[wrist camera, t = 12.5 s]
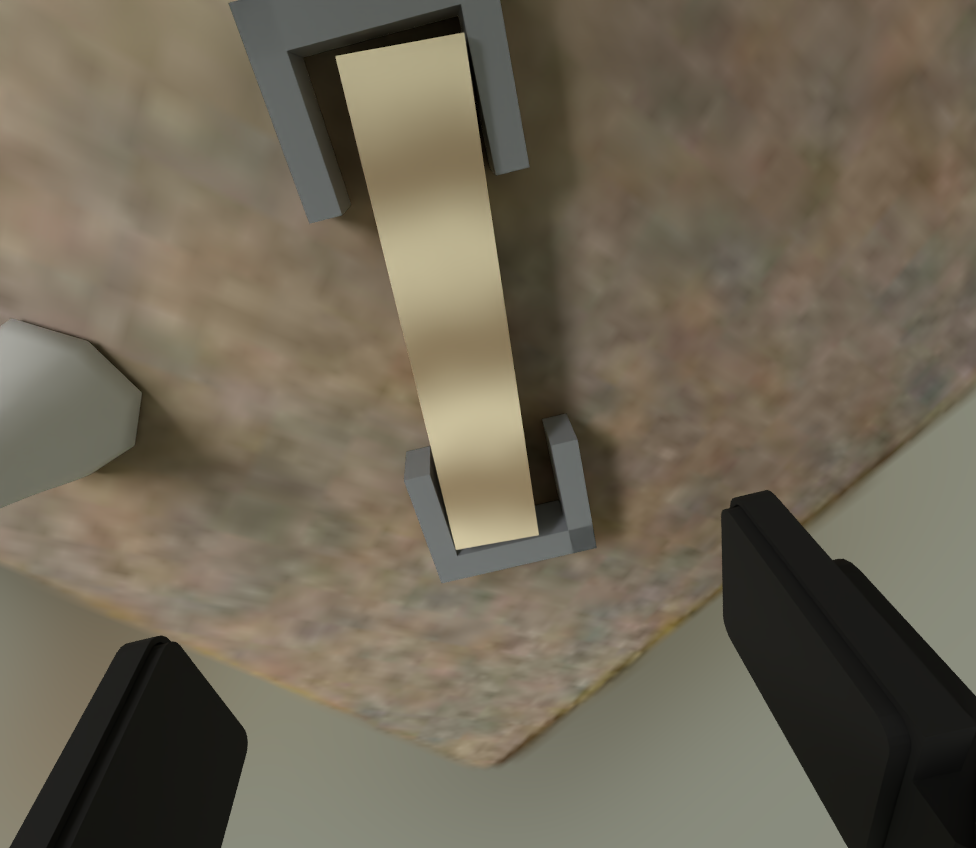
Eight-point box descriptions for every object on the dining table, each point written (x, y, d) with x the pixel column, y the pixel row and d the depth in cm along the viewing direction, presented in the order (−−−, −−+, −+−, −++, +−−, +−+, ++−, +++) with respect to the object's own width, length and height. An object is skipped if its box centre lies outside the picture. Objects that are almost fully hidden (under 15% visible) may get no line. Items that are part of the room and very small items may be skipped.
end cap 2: (406, 451, 28) (403, 480, 26) (566, 413, 28) (577, 439, 25) (441, 550, 31) (441, 583, 29) (585, 516, 31) (596, 547, 29)
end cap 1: (520, 161, 22) (529, 167, 20) (321, 212, 22) (309, 223, 20) (481, -48, 19) (488, -69, 17) (252, 15, 19) (228, 2, 17)
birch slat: (350, 64, 21) (335, 56, 17) (460, 44, 20) (464, 32, 17) (453, 505, 30) (455, 549, 27) (528, 492, 30) (539, 535, 27)
